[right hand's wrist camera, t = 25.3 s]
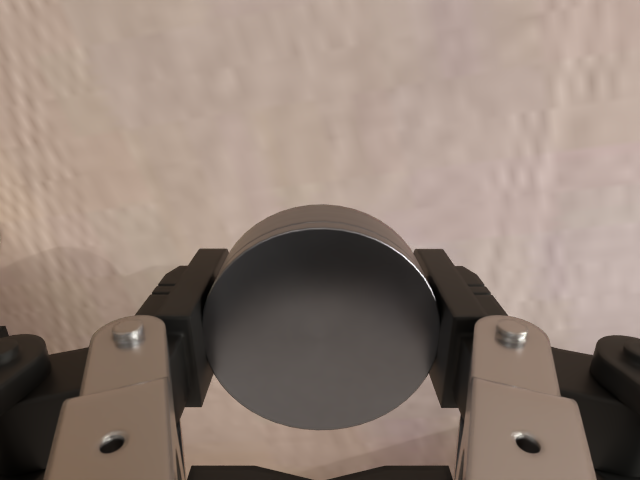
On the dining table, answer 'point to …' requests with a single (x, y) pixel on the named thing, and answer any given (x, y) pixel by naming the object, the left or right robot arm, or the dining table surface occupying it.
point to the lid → (321, 319)
